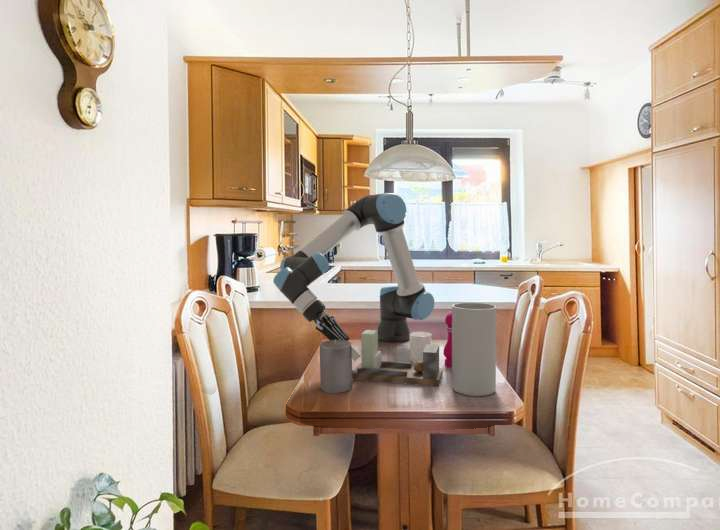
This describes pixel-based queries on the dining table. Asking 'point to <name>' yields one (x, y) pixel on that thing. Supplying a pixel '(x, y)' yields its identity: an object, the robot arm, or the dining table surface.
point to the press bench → (405, 370)
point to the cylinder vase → (474, 348)
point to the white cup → (418, 344)
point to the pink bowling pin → (448, 341)
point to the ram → (370, 349)
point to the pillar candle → (336, 366)
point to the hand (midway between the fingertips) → (358, 358)
